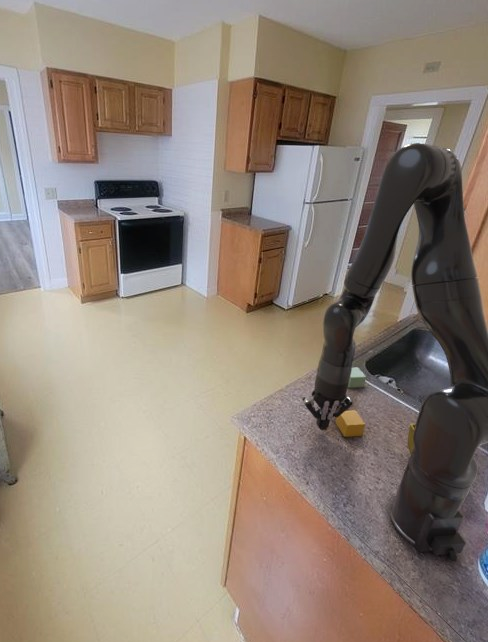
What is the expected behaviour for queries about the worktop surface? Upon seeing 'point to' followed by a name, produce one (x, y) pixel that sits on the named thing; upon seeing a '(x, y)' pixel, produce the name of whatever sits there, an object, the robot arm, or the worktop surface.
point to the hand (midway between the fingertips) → (321, 427)
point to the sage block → (356, 378)
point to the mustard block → (350, 423)
